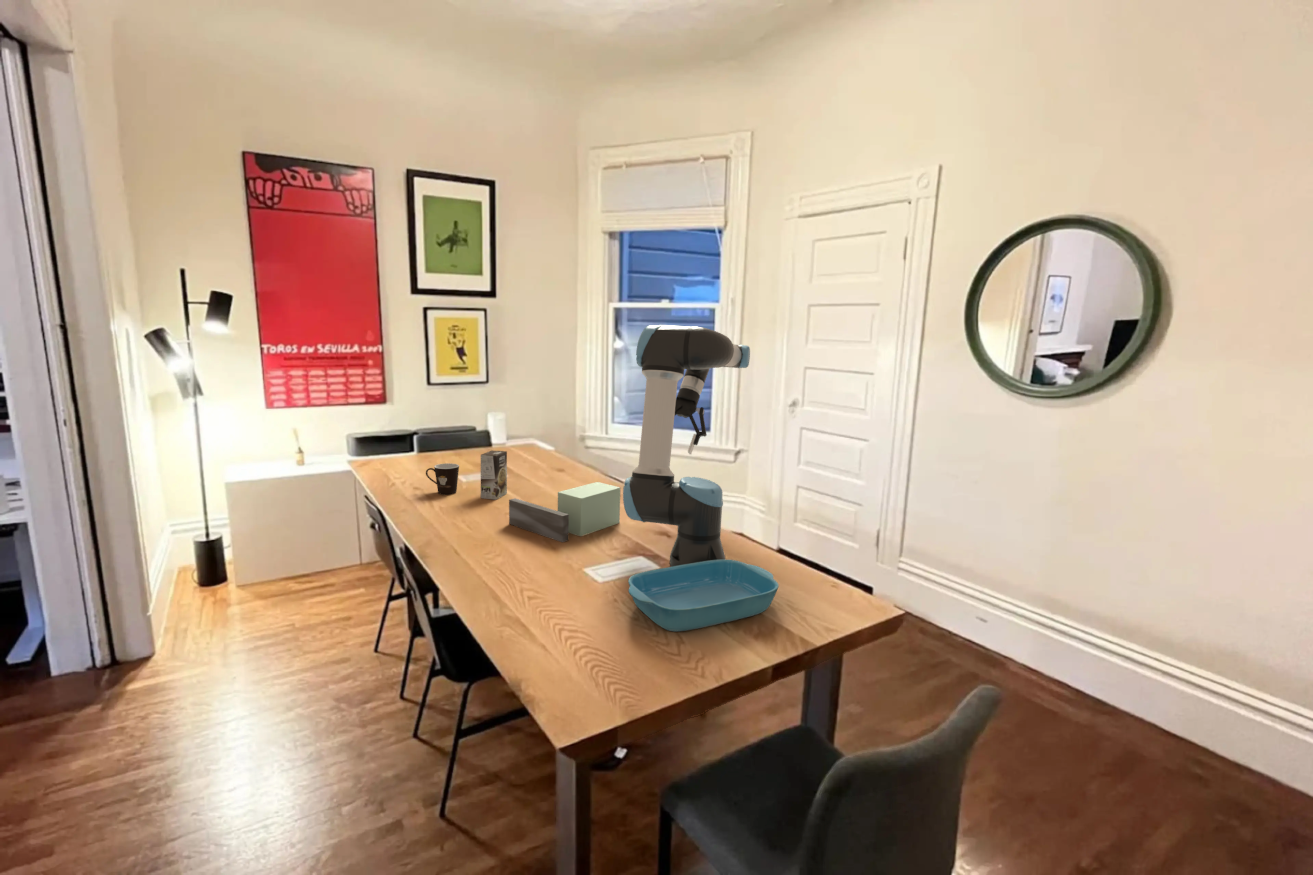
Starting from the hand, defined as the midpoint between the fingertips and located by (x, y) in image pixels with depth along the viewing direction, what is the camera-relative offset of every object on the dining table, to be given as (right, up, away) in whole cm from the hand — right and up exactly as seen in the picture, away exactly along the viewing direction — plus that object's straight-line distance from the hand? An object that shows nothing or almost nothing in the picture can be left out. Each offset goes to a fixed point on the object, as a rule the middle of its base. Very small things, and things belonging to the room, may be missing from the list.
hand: (670, 448), depth 213 cm
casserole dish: (+6, -36, -67) cm, 76 cm away
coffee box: (-64, -18, +17) cm, 68 cm away
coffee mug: (-83, -17, +20) cm, 87 cm away
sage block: (-26, -25, -12) cm, 38 cm away
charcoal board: (-41, -25, -20) cm, 52 cm away
